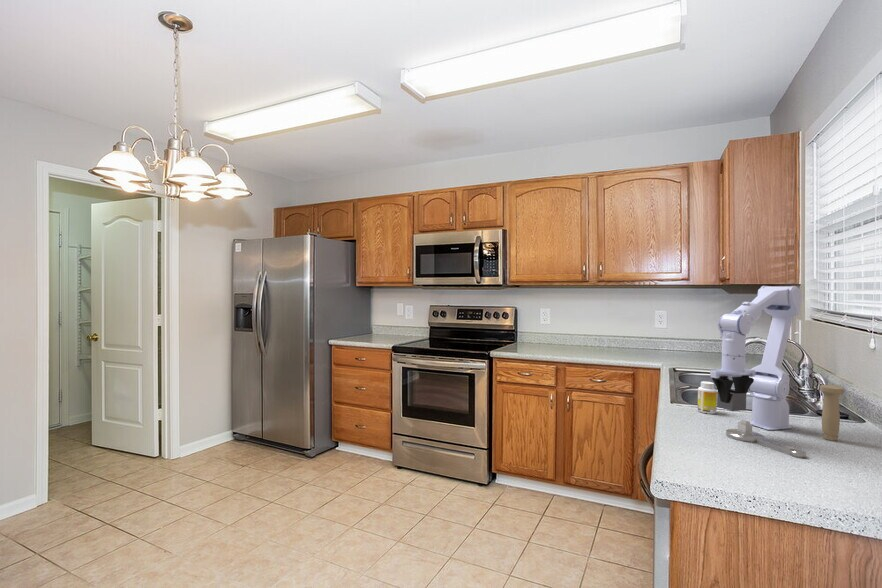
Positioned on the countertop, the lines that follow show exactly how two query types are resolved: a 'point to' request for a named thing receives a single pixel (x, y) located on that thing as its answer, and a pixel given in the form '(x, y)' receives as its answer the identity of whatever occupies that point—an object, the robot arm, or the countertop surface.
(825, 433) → the handle
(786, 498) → the countertop surface
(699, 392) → the supplement bottle
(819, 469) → the countertop surface
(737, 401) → the square metal tube
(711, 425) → the countertop surface
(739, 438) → the ratchet
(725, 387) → the robot arm
